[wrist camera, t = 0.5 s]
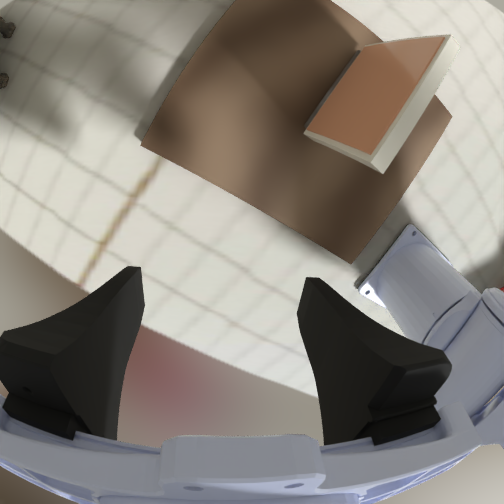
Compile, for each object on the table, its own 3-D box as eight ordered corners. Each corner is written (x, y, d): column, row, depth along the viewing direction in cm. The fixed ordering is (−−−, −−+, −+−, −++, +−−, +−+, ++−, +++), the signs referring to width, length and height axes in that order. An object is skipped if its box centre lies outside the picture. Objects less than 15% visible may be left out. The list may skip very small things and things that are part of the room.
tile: (460, 47, 7) (450, 32, 7) (383, 174, 10) (369, 161, 10) (373, 53, 14) (364, 44, 14) (312, 140, 17) (301, 132, 17)
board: (445, 115, 18) (459, 117, 16) (346, 258, 24) (355, 270, 22) (266, -30, 12) (271, -41, 10) (144, 143, 18) (135, 147, 16)
